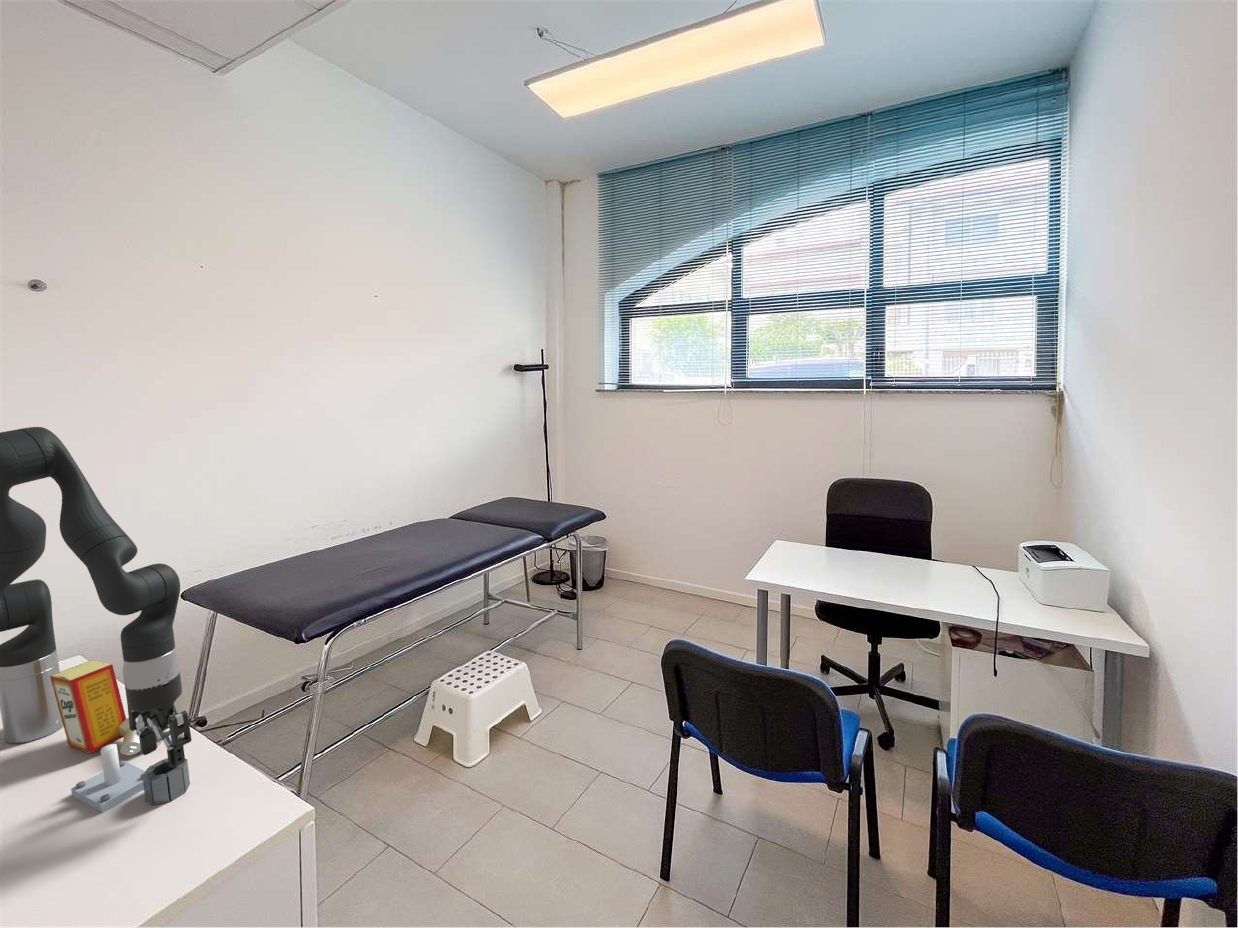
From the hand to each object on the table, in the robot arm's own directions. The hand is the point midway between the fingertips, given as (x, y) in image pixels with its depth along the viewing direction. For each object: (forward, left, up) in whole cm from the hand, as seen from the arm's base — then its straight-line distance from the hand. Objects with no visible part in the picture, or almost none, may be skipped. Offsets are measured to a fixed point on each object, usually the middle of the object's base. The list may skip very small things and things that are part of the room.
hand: (163, 758), depth 99 cm
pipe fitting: (-20, +5, -7) cm, 22 cm away
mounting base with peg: (-10, -3, -7) cm, 13 cm away
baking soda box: (-29, +3, -7) cm, 29 cm away
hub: (0, 0, -7) cm, 7 cm away
